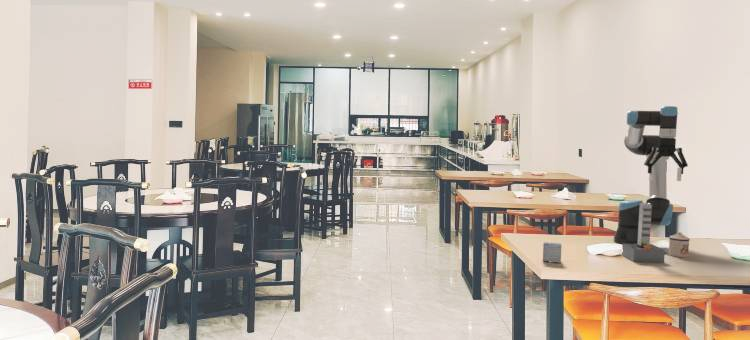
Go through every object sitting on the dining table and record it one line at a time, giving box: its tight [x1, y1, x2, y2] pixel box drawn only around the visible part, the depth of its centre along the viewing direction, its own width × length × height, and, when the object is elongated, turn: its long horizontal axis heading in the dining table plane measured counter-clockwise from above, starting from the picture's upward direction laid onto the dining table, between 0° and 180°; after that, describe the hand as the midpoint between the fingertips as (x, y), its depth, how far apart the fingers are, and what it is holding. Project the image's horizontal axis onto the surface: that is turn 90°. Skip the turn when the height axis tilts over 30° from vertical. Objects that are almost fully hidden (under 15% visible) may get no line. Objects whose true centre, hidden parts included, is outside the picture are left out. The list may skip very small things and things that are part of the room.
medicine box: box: [542, 241, 562, 264], centre depth 269 cm, size 8×4×9 cm, turn 71°
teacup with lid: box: [668, 231, 690, 258], centre depth 291 cm, size 12×9×12 cm
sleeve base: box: [621, 243, 666, 264], centre depth 280 cm, size 14×14×8 cm
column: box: [637, 202, 652, 246], centre depth 278 cm, size 5×4×20 cm
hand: (664, 180), depth 292 cm, fingers open, 13 cm apart
